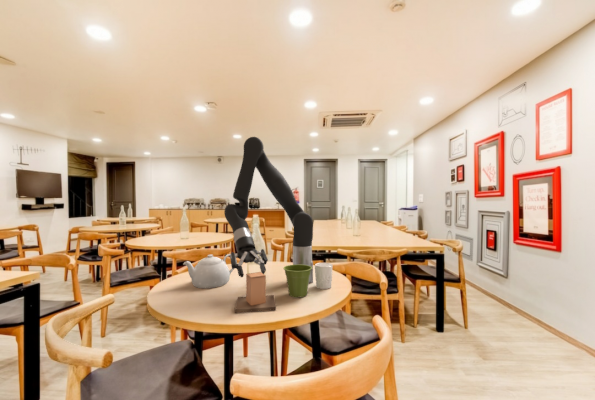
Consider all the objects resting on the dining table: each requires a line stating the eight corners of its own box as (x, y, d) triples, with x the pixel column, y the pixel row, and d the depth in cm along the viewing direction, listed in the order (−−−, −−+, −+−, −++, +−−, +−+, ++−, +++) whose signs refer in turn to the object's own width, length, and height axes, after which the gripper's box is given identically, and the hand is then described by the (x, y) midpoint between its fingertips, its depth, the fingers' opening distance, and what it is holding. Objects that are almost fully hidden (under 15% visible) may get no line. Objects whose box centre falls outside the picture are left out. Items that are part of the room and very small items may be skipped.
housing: (260, 297, 100) (260, 271, 100) (265, 302, 95) (265, 275, 95) (246, 300, 97) (246, 273, 97) (251, 305, 92) (250, 277, 92)
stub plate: (273, 297, 103) (273, 283, 103) (275, 310, 91) (275, 294, 91) (237, 300, 101) (237, 285, 101) (235, 312, 89) (235, 296, 89)
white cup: (321, 291, 111) (320, 267, 111) (311, 285, 118) (311, 263, 118) (336, 288, 115) (335, 265, 115) (326, 283, 122) (326, 261, 122)
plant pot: (314, 291, 111) (314, 264, 111) (309, 301, 99) (308, 272, 99) (288, 289, 114) (288, 263, 114) (279, 298, 102) (279, 270, 102)
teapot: (221, 290, 112) (221, 259, 112) (182, 288, 115) (182, 258, 115) (237, 278, 130) (237, 251, 130) (203, 276, 133) (203, 250, 133)
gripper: (228, 236, 104) (236, 271, 93) (262, 234, 110) (273, 266, 100) (225, 248, 108) (233, 282, 98) (257, 244, 115) (268, 277, 105)
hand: (253, 274), depth 99 cm, fingers open, 8 cm apart
